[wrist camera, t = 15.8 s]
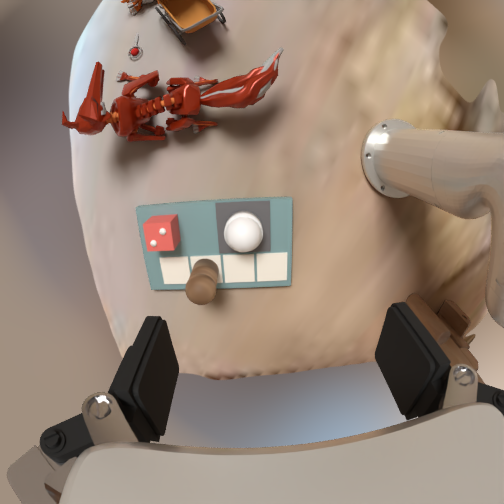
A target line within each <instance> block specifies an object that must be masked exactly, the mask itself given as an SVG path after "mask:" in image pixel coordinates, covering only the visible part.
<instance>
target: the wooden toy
mask: <svg viewBox="0 0 504 504" xmlns="http://www.w3.org/2000/svg"><path fill="white" fill-rule="evenodd" d="M406 304H407V305H408V306H409V307H410V309H411V310H412V311H413V312H414V314H415V315H416V316H417V317H418V319H419V320H420V321H421V322H422V324H423V325H424V326H425V328H426V329H427V330H428V331H429V333H430V334H431V335H432V337H433V338H434V339H435V341H436V342H437V343H438V345H439V346H440V347H441V349H442V350H443V352H444V353H445V354H446V356H447V357H448V358H449V360H450V361H451V363H450V366H451V367H453V366H454V365H456V364H466V365H468V366H470V367H471V368H473V369H474V370H475V372H476V371H477V370H478V361H477V360H476V359H475V357H474V356H473V355H472V354H471V352H470V351H469V350H468V349H469V345H468V344H467V343H466V341H465V340H464V339H463V338H462V337H463V335H464V334H465V332H466V331H467V329H468V327H469V326H470V324H471V321H470V319H469V318H468V316H467V315H466V314H465V313H464V312H463V311H462V310H461V309H460V308H459V307H458V306H457V305H456V304H455V303H454V302H452V301H447V300H445V302H444V303H443V305H442V307H441V309H440V311H439V313H438V314H437V315H436V314H435V313H434V312H433V311H432V309H431V308H430V307H429V306H428V305H427V304H426V303H425V302H424V301H423V299H422V298H421V297H420V296H419V295H418V294H411V295H410V296H409V297H408V299H407V301H406ZM476 373H477V372H476ZM477 376H478V382H480V383H483V384H485V383H484V382H483V380H482V379H481V377H480V376H479V375H478V373H477Z"/></svg>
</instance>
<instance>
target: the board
mask: <svg viewBox="0 0 504 504" xmlns="http://www.w3.org/2000/svg"><path fill="white" fill-rule="evenodd" d="M238 211H249V212H252V213H253V214H255V215H256V216H257V217H258V218H259V219H260V221H261V224H262V229H263V238H262V241H261V243H260V244H259V246H258V247H256V248H255V249H254V250H252V251H249V252H238V251H236V250H234V249H232V248H231V247H230V246H229V245H228V244H227V243H226V241H225V238H224V230H225V225H226V222H227V220H228V218H229V217H230V216H231V215H232V214H234V213H236V212H238ZM136 214H137V220H138V226H139V232H140V238H141V243H142V248H143V254H144V259H145V264H146V268H147V273H148V277H149V282H150V286H151V290H173V289H185V287H186V283H187V281H188V280H189V277H190V274H191V272H192V269H193V266H194V264H195V263H196V262H197V261H198V260H200V259H210V260H212V261H214V262H215V263H216V264H217V266H218V269H219V274H218V279H217V285H216V289H221V288H250V287H273V286H291V261H292V197H262V198H237V199H218V200H202V201H188V202H175V203H163V204H152V205H142V206H138V207H136Z"/></svg>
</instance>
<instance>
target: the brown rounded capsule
mask: <svg viewBox="0 0 504 504" xmlns="http://www.w3.org/2000/svg"><path fill="white" fill-rule="evenodd" d="M218 274H219V269H218V266H217V264H216V263H215V262H214V261H212V260H210V259H200V260H198V261H197V262H196V263H195V264H194V266H193V269H192V272H191V274H190V277H189V280H188V281H187V283H186V287H185V292H186V295H187V297H188V299H189V300H190V301H191V302H193V303H195V304H198V305H204V304H207V303H209V302H211V301H212V300H213V298H214V297H215V294H216V285H217V279H218Z"/></svg>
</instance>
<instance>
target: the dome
mask: <svg viewBox="0 0 504 504" xmlns="http://www.w3.org/2000/svg"><path fill="white" fill-rule="evenodd" d="M224 238H225V241H226V243H227V244H228V245H229V246H230V247H231V248H232V249H234V250H236V251H238V252H249V251H252V250H254V249H255V248H256V247H258V246H259V244H260V243H261V241H262V238H263V229H262V224H261V221H260V219H259V218H258V217H257V216H256V215H255V214H253V213H252V212H249V211H238V212H236V213H234V214H232V215H231V216H230V217H229V218H228V220H227V222H226V225H225V230H224Z"/></svg>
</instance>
